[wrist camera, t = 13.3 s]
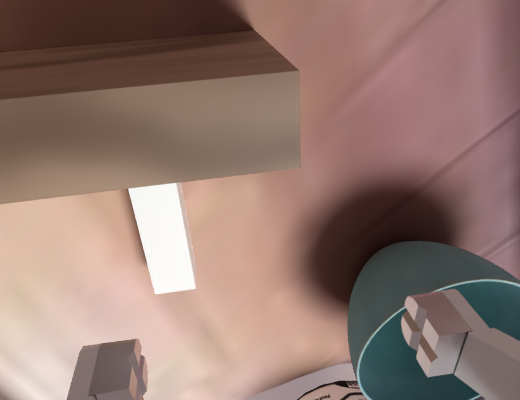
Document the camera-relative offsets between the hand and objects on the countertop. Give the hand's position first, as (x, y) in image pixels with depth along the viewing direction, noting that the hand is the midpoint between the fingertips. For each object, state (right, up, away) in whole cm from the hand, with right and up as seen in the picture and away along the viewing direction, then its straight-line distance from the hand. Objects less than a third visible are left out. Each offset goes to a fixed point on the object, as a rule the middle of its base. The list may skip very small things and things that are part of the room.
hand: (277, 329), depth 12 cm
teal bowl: (+16, -4, +36) cm, 39 cm away
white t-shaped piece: (-10, +4, +27) cm, 29 cm away
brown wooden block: (-11, +13, +21) cm, 27 cm away
